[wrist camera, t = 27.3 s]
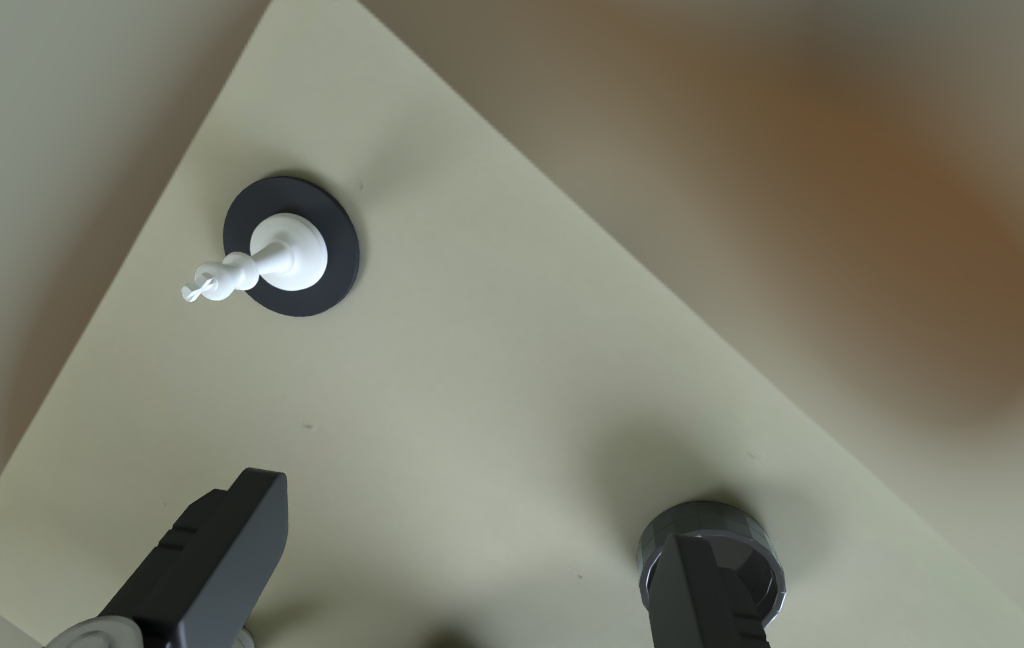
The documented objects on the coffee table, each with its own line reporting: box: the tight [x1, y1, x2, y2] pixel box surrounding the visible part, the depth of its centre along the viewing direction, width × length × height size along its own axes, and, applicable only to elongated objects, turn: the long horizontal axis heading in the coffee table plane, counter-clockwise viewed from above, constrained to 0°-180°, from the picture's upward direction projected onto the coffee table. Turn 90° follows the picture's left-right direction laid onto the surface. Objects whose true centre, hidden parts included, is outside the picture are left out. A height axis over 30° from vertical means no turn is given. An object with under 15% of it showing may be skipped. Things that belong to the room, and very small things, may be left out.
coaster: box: [223, 176, 359, 317], centre depth 37 cm, size 9×9×1 cm
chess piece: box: [181, 213, 327, 302], centre depth 32 cm, size 5×5×10 cm
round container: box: [637, 501, 786, 628], centre depth 39 cm, size 9×9×3 cm
